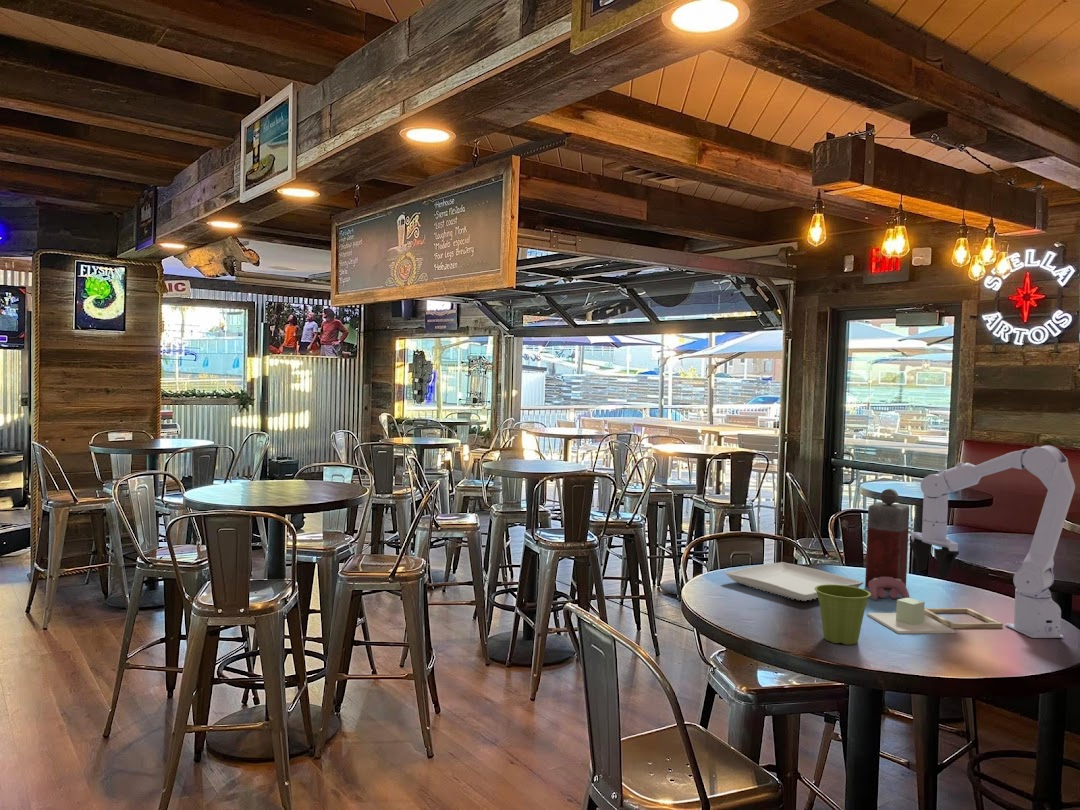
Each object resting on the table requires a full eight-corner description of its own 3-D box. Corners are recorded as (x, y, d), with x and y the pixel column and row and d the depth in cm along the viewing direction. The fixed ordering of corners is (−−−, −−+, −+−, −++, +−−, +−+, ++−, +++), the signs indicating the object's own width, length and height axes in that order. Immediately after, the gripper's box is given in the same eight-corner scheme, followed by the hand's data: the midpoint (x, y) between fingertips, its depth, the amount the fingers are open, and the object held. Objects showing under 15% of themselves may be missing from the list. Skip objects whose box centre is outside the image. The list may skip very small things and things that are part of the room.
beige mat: (954, 633, 185) (954, 630, 185) (898, 633, 184) (898, 630, 184) (920, 614, 199) (920, 612, 199) (867, 615, 198) (867, 612, 198)
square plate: (805, 608, 204) (806, 593, 204) (722, 584, 226) (723, 571, 225) (864, 593, 220) (864, 579, 220) (781, 572, 242) (782, 559, 242)
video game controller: (905, 604, 214) (902, 579, 217) (911, 601, 210) (908, 575, 213) (867, 603, 215) (865, 577, 217) (873, 599, 210) (870, 573, 213)
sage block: (923, 622, 191) (924, 602, 191) (912, 625, 188) (913, 604, 188) (906, 617, 194) (907, 597, 194) (895, 620, 192) (896, 599, 192)
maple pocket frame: (1002, 627, 190) (1002, 623, 190) (951, 628, 189) (951, 624, 189) (967, 611, 203) (968, 607, 203) (920, 611, 202) (920, 608, 202)
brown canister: (908, 584, 229) (912, 488, 228) (898, 592, 220) (902, 492, 219) (876, 579, 235) (879, 485, 234) (864, 586, 226) (868, 488, 225)
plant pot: (876, 640, 179) (878, 590, 178) (857, 653, 170) (859, 601, 169) (825, 628, 186) (826, 580, 186) (804, 639, 178) (805, 590, 177)
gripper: (969, 525, 198) (966, 579, 198) (927, 515, 212) (925, 565, 212) (945, 526, 196) (942, 580, 197) (905, 515, 210) (903, 566, 211)
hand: (932, 573), depth 204 cm, fingers open, 7 cm apart
